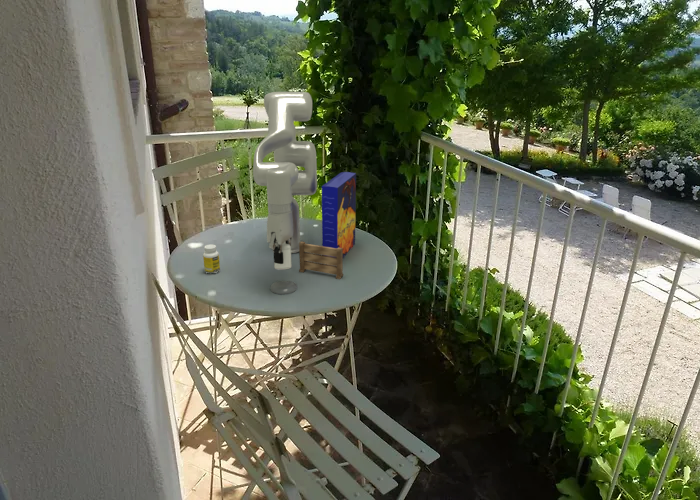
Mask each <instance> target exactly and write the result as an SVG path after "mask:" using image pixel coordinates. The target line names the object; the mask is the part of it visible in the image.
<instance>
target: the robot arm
mask: <svg viewBox="0 0 700 500" xmlns="http://www.w3.org/2000/svg"><path fill="white" fill-rule="evenodd" d="M263 105H264V110H265V113H266V115H267V117H268V119H267V120H268V125H267V127H268V128H267V135H266V136H265V137H264V138H263V139H262V140H261V141H260V142H259V144H258V145H257V147H256V149H255V151H254V154H253V165H252V167H253V168H252V169H253V170H252V175H253V180H254V182H255V184H256V185H258V186H262V187H263V186H265V187H266V194H267V195H266V196H267V212H268V213H267V220H266V242H267V243H268V244H269V245H268V248H269V249H271V250H272V253H273V264H274V263H278V264H283V252H282V243H284V242H285V241H286V244H289V245H290V247H291V254H295V253H296V254H297V253H299V243H300V242H301V226H300V225H301V224H300V206H299V203H298V201H297V200H296V199H295V198H294V196H312V195H314V194H315V193H316V192H317V189H318V173H317V171H318V169H317V168H318V167H317V151H316V147H315V144H314V143H313V142H312V141H308V140H297V135H296V134H297V129H296V125H295V124H294V122H308V121H310V120H311V117H312V114H313V98H312V95H311V94H310V93H309V92H306V91H271V92H269V93H266V94H265V95H264V97H263ZM272 152H273V158H274V161H268V162H267V161H265V162H264V161H263V160H264V159H265V158H266V157H267V156H268V155H269V154H271V153H272ZM298 167H302V168H304V170H303V169H301V170H300V169H298ZM276 245H279V248H278V247H276Z"/></svg>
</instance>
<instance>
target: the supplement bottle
mask: <svg viewBox="0 0 700 500" xmlns="http://www.w3.org/2000/svg"><path fill="white" fill-rule="evenodd" d="M202 257H203V267H204V273H205V272H207V273H216V272H218V271H219V272H220V271H221V264H220V253H219V251H217V245H215V244H206V245H204V252H203V254H202ZM219 272H218V273H219ZM207 273H206V274H207ZM216 274H217V273H216Z"/></svg>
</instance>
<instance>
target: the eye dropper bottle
mask: <svg viewBox="0 0 700 500" xmlns="http://www.w3.org/2000/svg"><path fill="white" fill-rule="evenodd" d="M276 247H278V248H279V245H276ZM282 252H283V264H278V263H274V262H273V264H274V265H273V266H274V269H275V270H288V269H291V268H292V253H291V247H290V245H289V244H286V241H285V242H284V243H282Z"/></svg>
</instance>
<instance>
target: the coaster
mask: <svg viewBox="0 0 700 500" xmlns="http://www.w3.org/2000/svg"><path fill="white" fill-rule="evenodd" d="M269 289H270V292H272V293H273V294H276V295H289V294H292V293H295V292H296V291H297V290H298V284H297V283H296V282H295V281H291V280H279V281H278V280H277V281H275V282H272V284H271V285H270V288H269Z"/></svg>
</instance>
